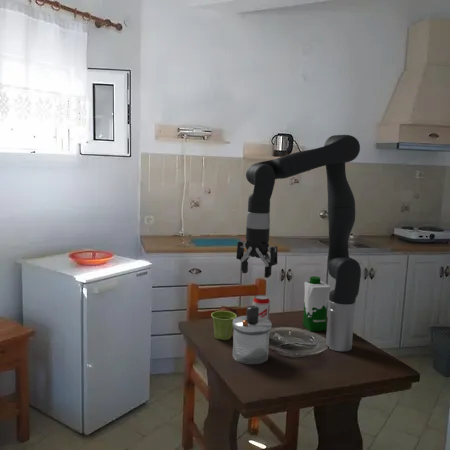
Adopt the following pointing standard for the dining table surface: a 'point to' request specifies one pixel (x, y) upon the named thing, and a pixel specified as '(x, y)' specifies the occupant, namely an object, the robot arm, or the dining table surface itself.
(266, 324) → the cooker lid
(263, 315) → the beer can
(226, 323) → the plant pot
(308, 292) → the milk carton
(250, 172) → the robot arm
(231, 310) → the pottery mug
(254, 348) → the cooker pot
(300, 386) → the dining table surface
